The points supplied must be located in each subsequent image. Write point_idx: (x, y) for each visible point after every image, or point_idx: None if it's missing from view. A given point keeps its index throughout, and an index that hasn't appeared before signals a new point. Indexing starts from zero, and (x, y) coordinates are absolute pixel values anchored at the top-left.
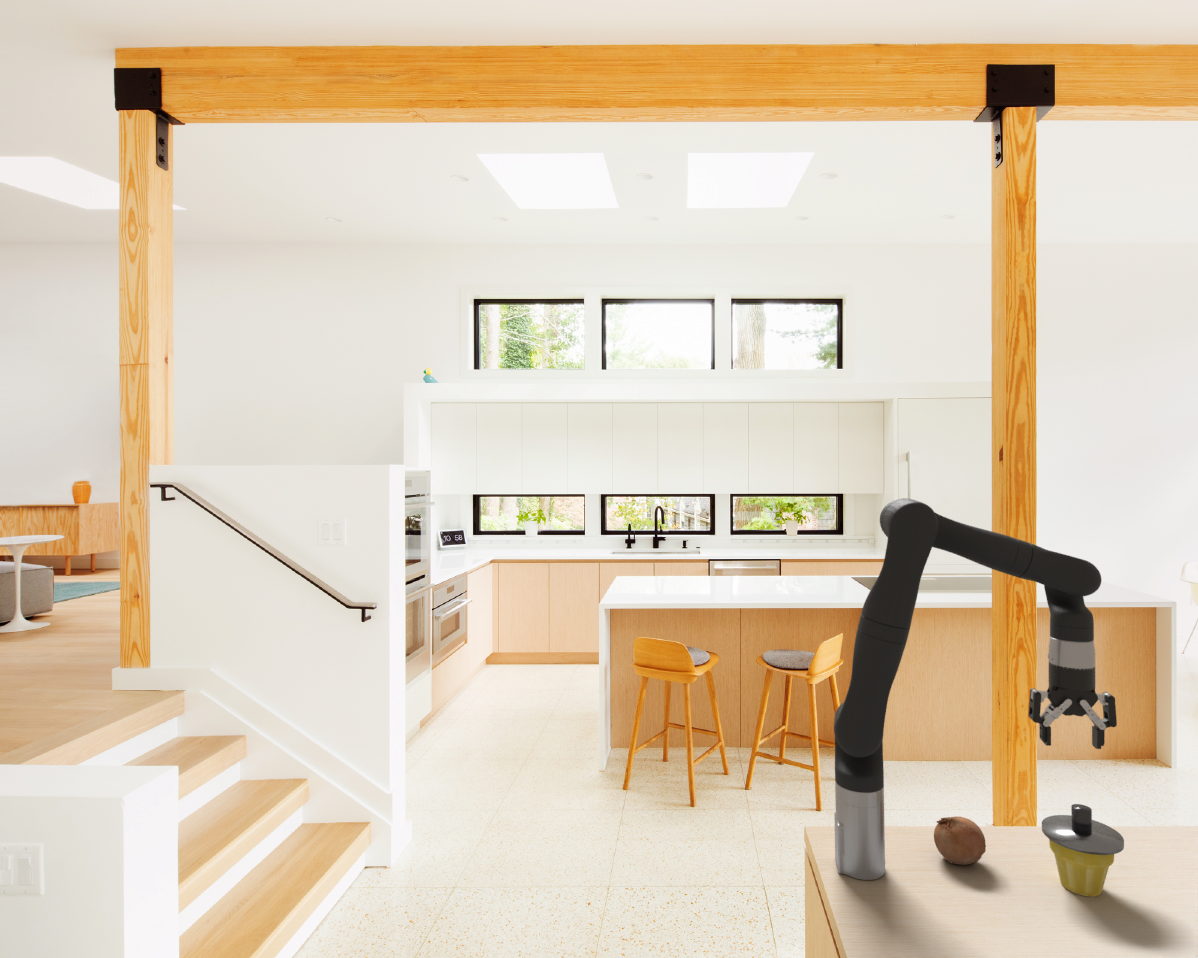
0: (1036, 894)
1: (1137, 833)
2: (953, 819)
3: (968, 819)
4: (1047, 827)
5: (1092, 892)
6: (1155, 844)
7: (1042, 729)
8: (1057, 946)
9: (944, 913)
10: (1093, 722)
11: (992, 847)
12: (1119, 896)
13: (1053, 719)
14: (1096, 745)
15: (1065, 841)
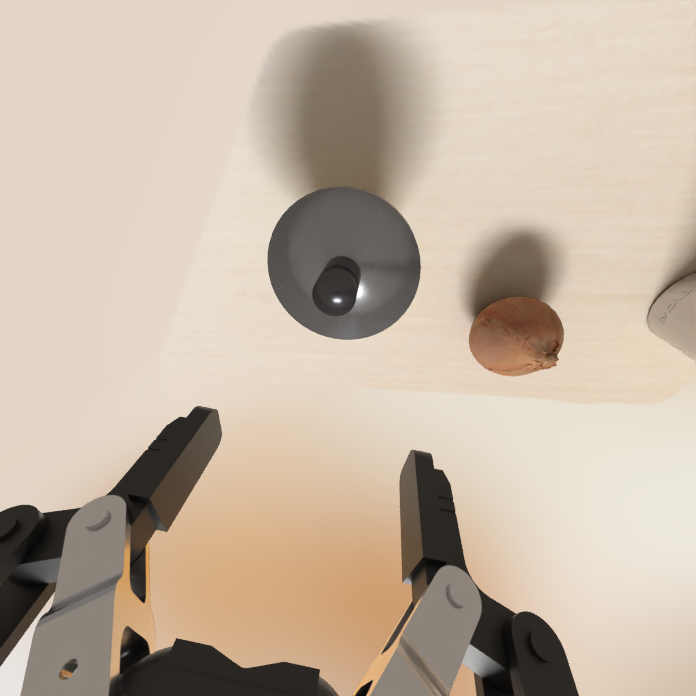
0: (443, 221)
1: (214, 369)
2: (544, 356)
3: (506, 358)
4: (406, 292)
5: None
6: (202, 346)
7: (460, 545)
8: (536, 13)
9: (678, 148)
10: (143, 555)
11: (423, 349)
12: None
13: (414, 631)
14: (209, 422)
15: (407, 228)
